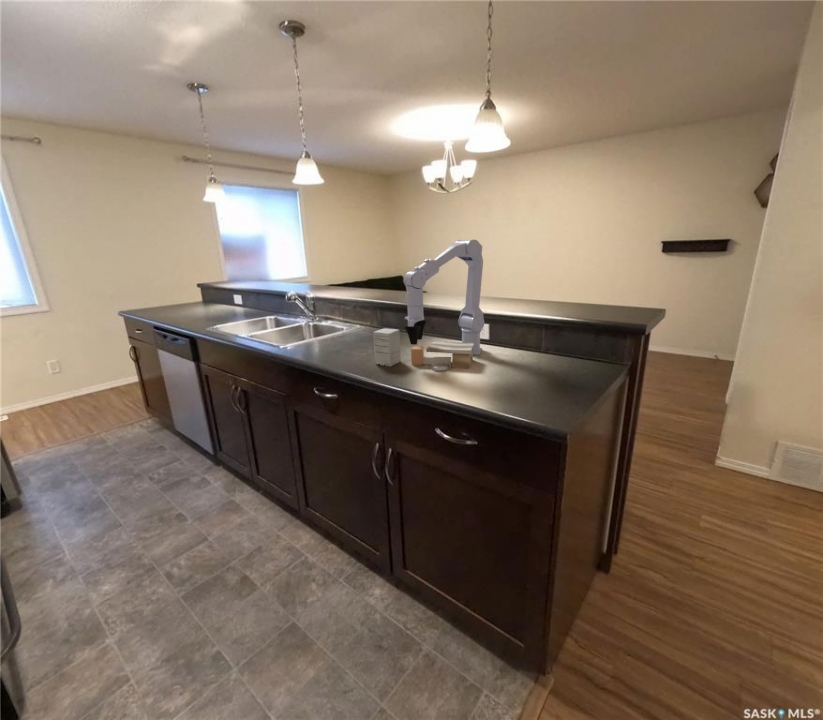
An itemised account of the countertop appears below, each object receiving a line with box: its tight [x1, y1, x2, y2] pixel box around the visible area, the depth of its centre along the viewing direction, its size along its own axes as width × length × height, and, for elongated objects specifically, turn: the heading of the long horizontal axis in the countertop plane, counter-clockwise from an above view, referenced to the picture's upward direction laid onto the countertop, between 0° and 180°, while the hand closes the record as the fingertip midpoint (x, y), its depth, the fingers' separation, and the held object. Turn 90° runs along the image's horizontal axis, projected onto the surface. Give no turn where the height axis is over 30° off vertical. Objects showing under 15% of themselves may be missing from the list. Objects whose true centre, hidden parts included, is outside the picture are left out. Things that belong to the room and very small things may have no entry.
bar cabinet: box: [426, 341, 474, 369], centre depth 144 cm, size 11×16×7 cm
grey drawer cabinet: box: [372, 327, 402, 367], centre depth 145 cm, size 7×7×13 cm
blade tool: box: [410, 346, 452, 366], centre depth 144 cm, size 4×14×6 cm, turn 80°
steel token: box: [431, 363, 450, 373], centre depth 138 cm, size 6×6×2 cm
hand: (416, 341), depth 143 cm, fingers open, 7 cm apart
